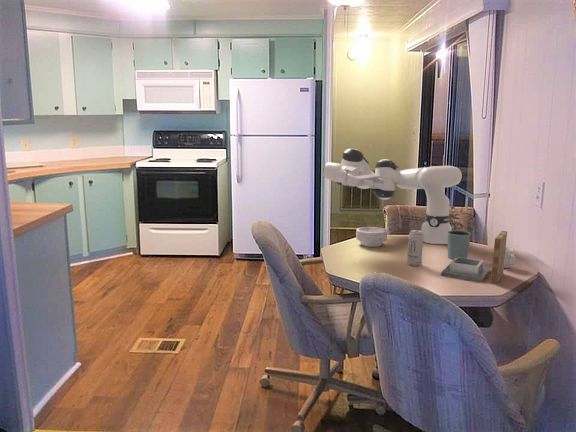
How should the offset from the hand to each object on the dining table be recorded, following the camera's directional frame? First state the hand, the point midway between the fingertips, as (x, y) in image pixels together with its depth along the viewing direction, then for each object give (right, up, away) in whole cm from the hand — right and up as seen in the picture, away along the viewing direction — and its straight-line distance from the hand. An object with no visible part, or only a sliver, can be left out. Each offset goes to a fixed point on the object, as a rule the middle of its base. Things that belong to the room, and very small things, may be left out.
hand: (378, 183), depth 232 cm
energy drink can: (+14, -36, -7) cm, 39 cm away
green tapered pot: (+37, -34, +5) cm, 50 cm away
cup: (+53, -37, -9) cm, 65 cm away
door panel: (+43, -40, -24) cm, 64 cm away
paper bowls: (+1, -29, +26) cm, 39 cm away
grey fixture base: (+33, -38, -18) cm, 54 cm away
